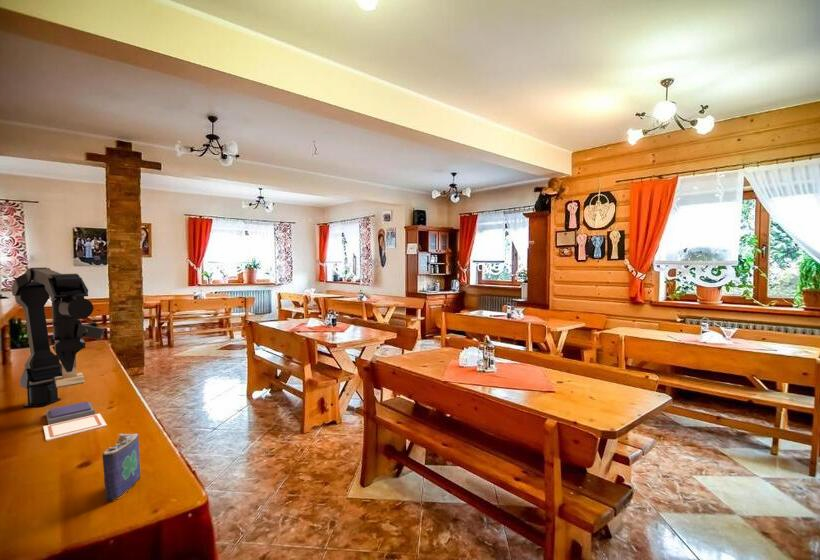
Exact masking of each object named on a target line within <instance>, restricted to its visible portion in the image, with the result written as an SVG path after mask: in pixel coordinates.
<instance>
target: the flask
mask: <svg viewBox="0 0 820 560" xmlns="http://www.w3.org/2000/svg"><path fill="white" fill-rule="evenodd" d="M117 437H119V438H118V439H117V441H116V444H114V445H113V446H109V447H108V448H107V449H105V450H104V452H103V453H102V457H101V458H102V466H103V483H104V489H105V490H104V493H105V494H104V495H105V500H106V501H105V503H111V502H110V501H113V502H115V501H114V500H115V499H117V498H119V497H120V496H122V495H123V494H124V493H125V492H126V491H127V490H129V489H130V488H131V487H132V488H133V487H134V486H135V485H136V484H137V483H138V482H139V480H140V479H141V475H142V474H141V473H142V472H141V461H140V440H139V439H140V438H139V437H140V435H139V434H138V433H119V434H117ZM137 481H138V482H137ZM136 482H137V483H136ZM135 483H136V484H135ZM134 484H135V485H134ZM132 488H131V489H132ZM122 497H123V496H122ZM119 499H120V498H119Z"/></svg>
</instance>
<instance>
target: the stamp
mask: <svg viewBox="0 0 820 560" xmlns="http://www.w3.org/2000/svg"><path fill="white" fill-rule="evenodd" d="M60 363H61V362H60ZM61 365H62V363H61ZM77 367H78V366H77V356H76V357H75V361H74V365H73V369H72V372H67V371H66V370H65V368H64V366H63V365H62V376H59V377H55V384H56V387H57V389H59V388H65V387H66V388H67V387H69V386H77V385H82V384H85V382H86V380H85V379H86V378H85V375H84V374H83V372H78V371H77V369H78V368H77Z"/></svg>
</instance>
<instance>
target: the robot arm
mask: <svg viewBox="0 0 820 560" xmlns="http://www.w3.org/2000/svg"><path fill="white" fill-rule="evenodd" d="M11 294H12V296H13V297H14V299H15V303H16V304H18V306H20V308H22V309H23V310H24V311H23V312H24V317H25V324H26V333H27V339H28V344H29V345H28V346H29V350H30V351H29V352H30V355H29V357H28V358H27V360H26V361H25V364H24V369H23V372H22V374H21V377H20V379H19V382H20V387H21V388H24V389H25V390H26V393H27V396H26V397H27V403H26V404H23V405H22V407H23V408H27V407H28V408H31V407H34V408H35V407H45V406H48V405H50V404H53V403H55V402H58V401H61V400H62V398H61V397H59V392H58V389H59V388H58V387H57V386H56V384H55V377H59V376H62V365H63V366H64V368H65V370H66V371H67V372H72V369H73V365H74V361H75V357H76V358H77V354H78V353H79V352H80V351H82V350H83V349H86V341H85V340H84V339H83V337H88V338H94V339H96V340H102V338H103V335H104V332H105V330H106V329H105V328H104V327H100V326H99V325H98V323H97V322H92V321H90V322H89V323H88V324H83V322H82V320H83V319H87V318H88V317H90V316H91V315H92V313H93V312H94V305H93V303H92V302H91V301H90V300H89V299H87V298H85V297H88V296H89V288H88V287H87V285H86V284H85V282H84V280H83V278H82V277H81V276H80V275H79V274H78V273H60V272H58V271H55V270H52V269H51V268H49V267H29V268H27V269H26V271H25V272H24V273H22V274H21V275H20V276H18V277H16V278H14V281H13V283H12V286H11ZM49 299H50V302H51V312H52V313H51V314H52V321H51V322H52V323H51V324H52V333H53V335H51V336H50V339H49V331H48V323H47V318H46V311H45V305H46V304H47V302H48V301H49ZM51 345H53V346H52V348H51ZM51 349H53V351H54V352H55V353H54V352H53V351H52V350H51ZM61 363H62V365H61Z"/></svg>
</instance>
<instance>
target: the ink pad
mask: <svg viewBox="0 0 820 560" xmlns="http://www.w3.org/2000/svg"><path fill="white" fill-rule="evenodd" d="M95 414H96V410H95V408H94V406H93V405H92V403H91V401H82V402H81V401H80V402H77V403H76V402H75V403H71V404H66V405H63V406H62V405H61V406H57V407H52V408H49V410H48V409H47V410H45V416H46V420H47V424H48V425H51V424H55V423H60V422H64V421H69V420H73V419H77V418H82V417H86V416H91V415H95Z"/></svg>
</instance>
